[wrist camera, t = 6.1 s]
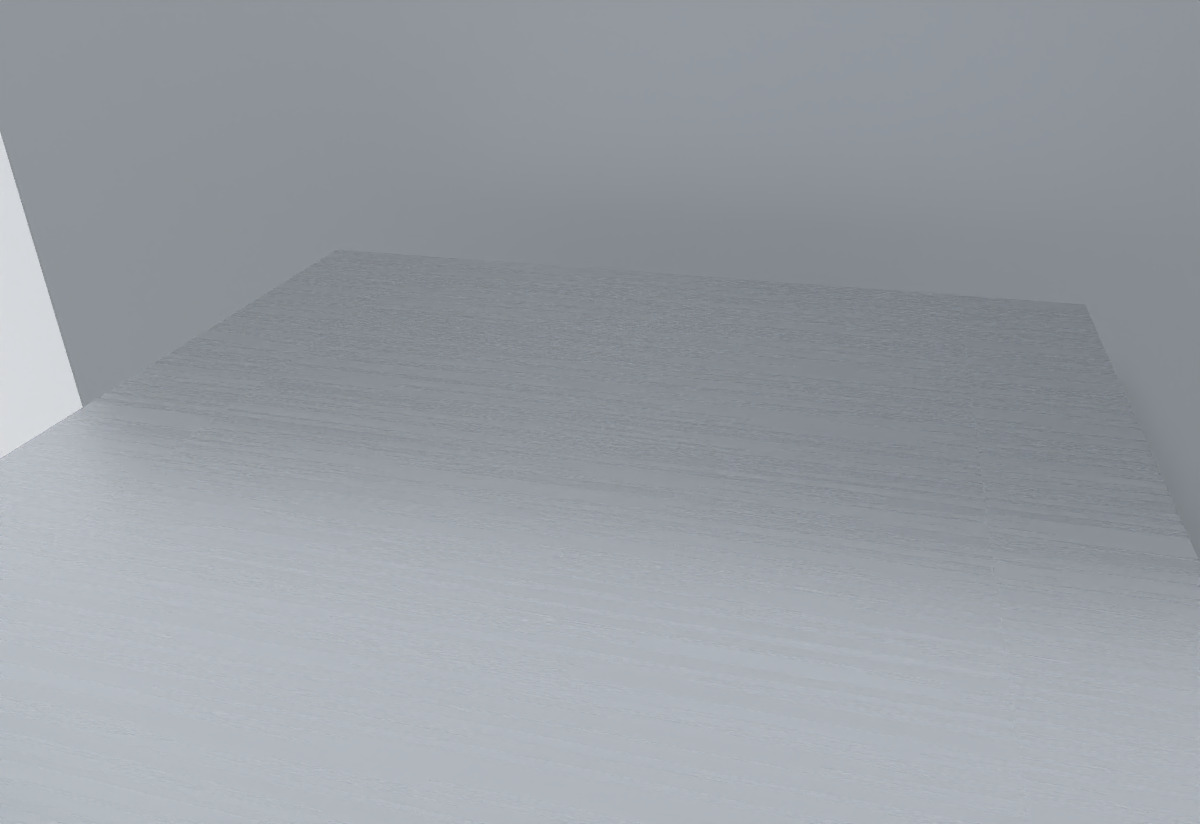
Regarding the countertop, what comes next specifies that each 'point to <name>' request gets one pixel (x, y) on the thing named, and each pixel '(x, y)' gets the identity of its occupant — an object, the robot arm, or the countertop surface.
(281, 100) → the panel
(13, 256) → the countertop surface
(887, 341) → the open cube shelf
